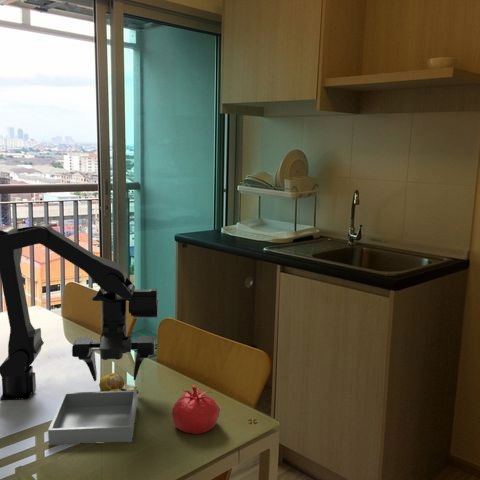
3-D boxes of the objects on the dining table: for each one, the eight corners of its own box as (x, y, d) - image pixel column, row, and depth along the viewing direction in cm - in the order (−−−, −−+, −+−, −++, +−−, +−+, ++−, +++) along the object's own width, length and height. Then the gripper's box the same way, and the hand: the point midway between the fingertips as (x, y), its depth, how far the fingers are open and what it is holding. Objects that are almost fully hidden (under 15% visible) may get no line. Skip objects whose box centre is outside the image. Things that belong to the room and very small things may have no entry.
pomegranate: (201, 445, 108) (201, 402, 107) (162, 430, 113) (162, 389, 112) (228, 424, 117) (229, 384, 115) (191, 411, 122) (191, 372, 120)
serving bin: (48, 449, 105) (48, 430, 105) (64, 409, 121) (63, 392, 120) (132, 445, 107) (131, 426, 107) (136, 406, 123) (136, 390, 122)
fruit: (114, 400, 125) (113, 385, 124) (90, 392, 129) (89, 378, 129) (140, 387, 131) (139, 373, 131) (116, 380, 136) (115, 366, 135)
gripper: (66, 330, 117) (68, 397, 120) (153, 328, 120) (153, 394, 122) (75, 314, 128) (77, 375, 131) (154, 313, 131) (154, 373, 133)
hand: (115, 380), depth 129 cm, fingers open, 9 cm apart
